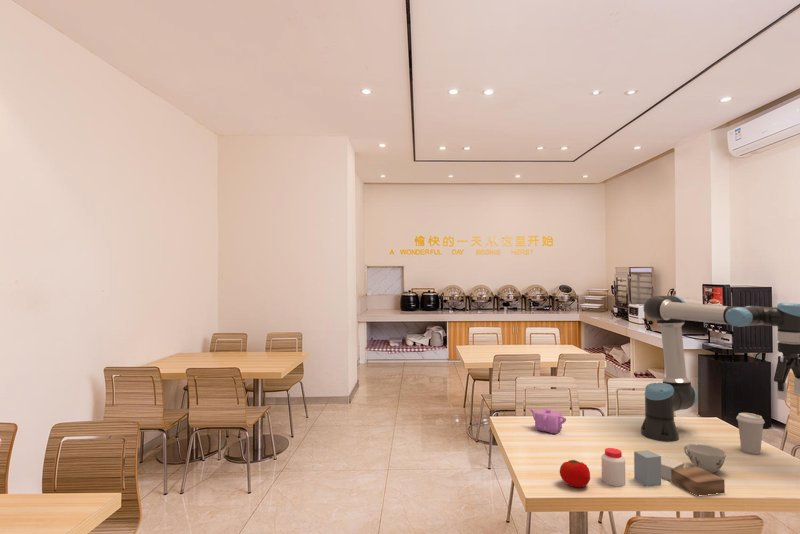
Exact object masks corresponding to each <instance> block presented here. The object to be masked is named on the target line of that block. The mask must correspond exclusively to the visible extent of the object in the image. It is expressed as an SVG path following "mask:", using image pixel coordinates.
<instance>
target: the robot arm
mask: <svg viewBox="0 0 800 534" xmlns="http://www.w3.org/2000/svg"><path fill="white" fill-rule="evenodd" d="M643 313H644V314H645V315H646V317H647V318H649V319H651V320H655V321H656V325H658V326H659V327H660V332H661V343H662V352H663V363H664V372H665V377H664V378H663V379H662V382H653V383H652V382H651V383H649V384H646V386H645V389H644V408H645V409H644V419H643V423H642V425H641V429H640V433H641V435H642V436H644V437H645V438H648V439H652V440H656V441H660V442H661V441H662V442H676V441H678V440H679V439H680V436H679V435H680V434H679V432H678V431H679V430H678V428H677V426H676V422H675V412H677V411H680V410H682V411H683V410H688V409H690V408H692V407H694V406H695V405H696V404H697V401H698V397H699V396H698V392H697V390H696V389H695V388H694V386H693V385H692V381H691V380H690V379H689V378H688V377H687V370H686V368H687V367H686V360H685V359H686V358H685V349H684V340H683V330H682V326H684V324H685V321H691V322H692V321H693V322H701V323H702V322H703V323H712V324H723V325H729V326H733V327H738V328H741V327H742V328H743V327H751V326H753V327H754V326H771V327H777V337H776V338H777V352H779V353H782V355H778V356H777V364H776V367H775V372H774V378H773V382H776V396H777V397H776V399H777V400H781V401H787V400H788V398H787V393H788V392H787V390H788V388H787V382H786V381H787V378H788V375H789V372H790V370H791V371H792V373H793V375H794V377H793V395H794V396H795V395H796V396H800V303H795V302H779V303H777V306H776V307H770V306H757V305H746V306H727V305H717V304H703V303H693V302H692V303H688V302H686V301H685V300H684V299H683V298H681V297H680V296H677V295H653V296H651V297H649V298H647V299H646V300H645V301H644V304H643Z"/></svg>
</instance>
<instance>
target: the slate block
mask: <svg viewBox="0 0 800 534" xmlns="http://www.w3.org/2000/svg"><path fill="white" fill-rule="evenodd" d="M633 456H634V457H633V465H634V466H633V468H634V469H633V470H634V471H633V472H634V473H633V474H634V478H633V480H635V481H637V482H638V483H640V484H641V485H643V486H646V487H647V488H648V487H654V486H661V485H662V477H661V456H662V455H659V454H657V453H655V452H653V451H651V450H649V449H645V450H636V451H634V452H633Z"/></svg>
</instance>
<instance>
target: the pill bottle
mask: <svg viewBox="0 0 800 534" xmlns="http://www.w3.org/2000/svg"><path fill="white" fill-rule="evenodd" d="M601 481H602V482H603V483H604V484H606V485H609V486H613V487H624V486H625V485H626V459H625V457H624V456H623V453H622V451H621V450H620V449H618V448H613V447H607V448H605V449H604V453H603V454H602V455H601Z"/></svg>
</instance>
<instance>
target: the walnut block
mask: <svg viewBox="0 0 800 534" xmlns="http://www.w3.org/2000/svg"><path fill="white" fill-rule="evenodd" d="M670 482H671V483H672V484H674V485H676V486H677V487H679V488H681V489H683V490H685V491H687V492H689V493H690V492H691V493H690V494H692V493H693V494H692V495H694V494H695V495H697V496H699V495H707V496H709V495H708V494H716V493H724V494H726V492H725V490H726V489H725V487H726V486H725V479H724V478H722V477H720V476H718V475H716V474H714V473H710V472H708V471H706V470H704V469H701V468H699V467H697V466H688V467H684V468H676V469H671V481H670ZM695 495H694V496H695ZM716 495H717V494H716ZM697 496H696V497H697ZM699 497H700V496H699Z"/></svg>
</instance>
